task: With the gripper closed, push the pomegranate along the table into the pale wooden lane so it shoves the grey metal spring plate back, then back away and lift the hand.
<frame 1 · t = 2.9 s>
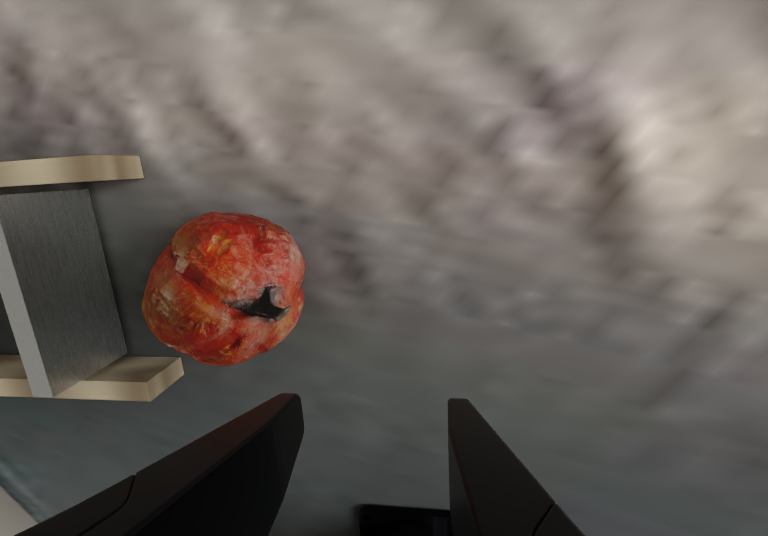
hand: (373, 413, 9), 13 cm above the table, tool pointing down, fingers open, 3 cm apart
pusher lane: (62, 275, 25), on the table
pomegranate: (260, 269, 23), on the table
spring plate: (62, 287, 22), point 3 cm above the table, slide at 0.0 cm
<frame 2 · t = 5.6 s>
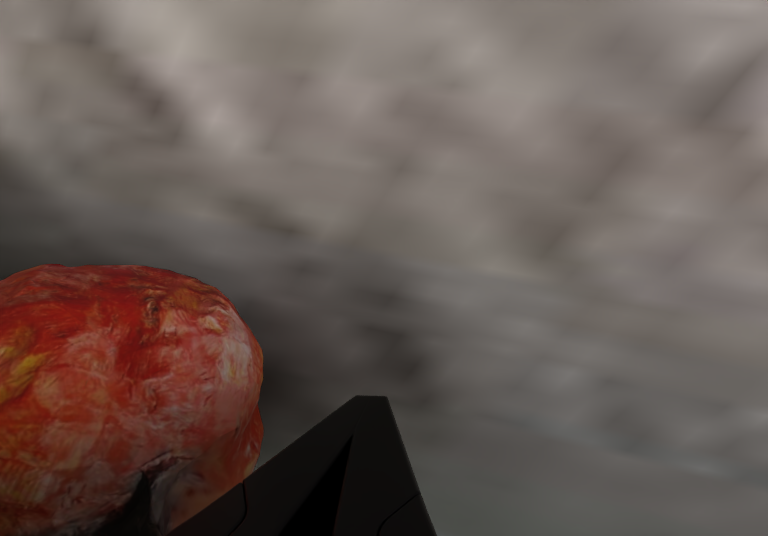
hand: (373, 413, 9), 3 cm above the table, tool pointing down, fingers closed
pomegranate: (188, 353, 12), on the table, touching gripper
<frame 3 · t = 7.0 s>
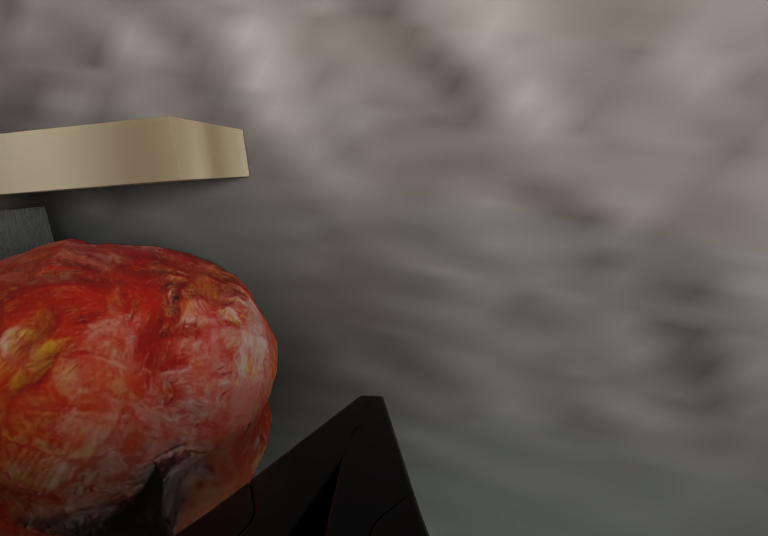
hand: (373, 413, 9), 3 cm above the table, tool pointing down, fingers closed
pusher lane: (76, 361, 13), on the table
pomegranate: (200, 333, 12), on the table, touching gripper
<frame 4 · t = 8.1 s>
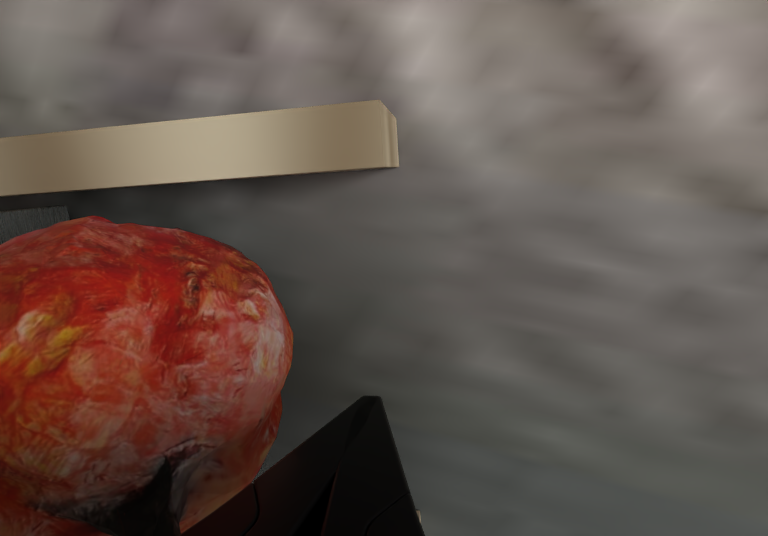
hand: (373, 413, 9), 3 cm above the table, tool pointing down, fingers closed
pusher lane: (194, 358, 13), on the table
pomegranate: (216, 313, 12), on the table, touching gripper, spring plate
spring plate: (12, 407, 11), point 3 cm above the table, slide at 6.5 cm, touching pomegranate
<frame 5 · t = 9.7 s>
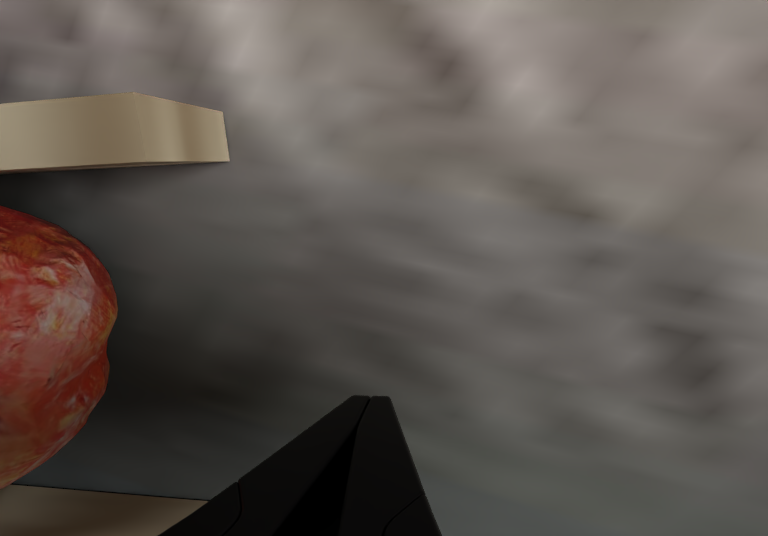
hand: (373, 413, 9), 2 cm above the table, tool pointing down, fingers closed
pusher lane: (52, 350, 13), on the table
pomegranate: (62, 298, 12), on the table
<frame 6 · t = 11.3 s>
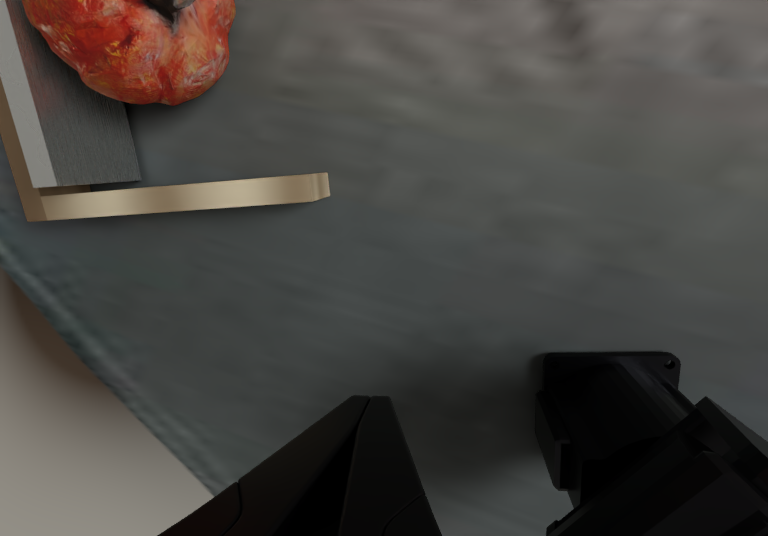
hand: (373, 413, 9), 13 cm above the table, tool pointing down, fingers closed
pusher lane: (182, 72, 20), on the table
pomegranate: (189, 36, 20), on the table
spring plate: (64, 70, 18), point 3 cm above the table, slide at 7.0 cm
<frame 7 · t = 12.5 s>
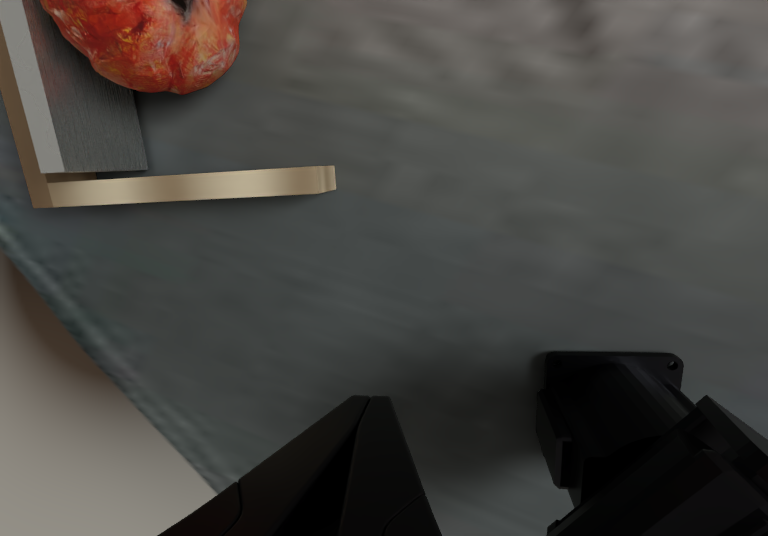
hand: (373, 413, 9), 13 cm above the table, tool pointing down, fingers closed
pusher lane: (191, 62, 20), on the table
pomegranate: (199, 27, 20), on the table
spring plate: (74, 57, 18), point 3 cm above the table, slide at 7.0 cm
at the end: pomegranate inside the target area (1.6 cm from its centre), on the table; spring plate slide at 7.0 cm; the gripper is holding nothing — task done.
